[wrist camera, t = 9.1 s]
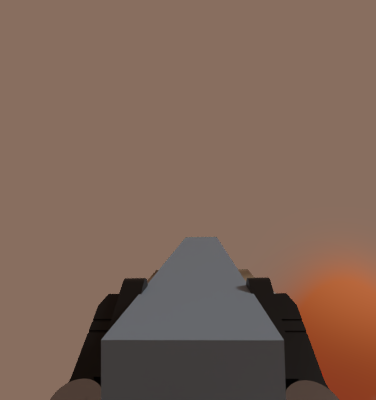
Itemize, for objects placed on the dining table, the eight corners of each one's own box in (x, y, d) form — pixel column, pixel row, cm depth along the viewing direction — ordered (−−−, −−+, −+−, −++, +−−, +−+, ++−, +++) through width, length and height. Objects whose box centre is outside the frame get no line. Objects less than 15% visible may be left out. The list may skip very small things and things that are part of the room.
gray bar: (290, 536, 6) (284, 340, 6) (101, 531, 6) (101, 340, 6) (217, 268, 36) (216, 236, 36) (186, 268, 36) (185, 237, 36)
